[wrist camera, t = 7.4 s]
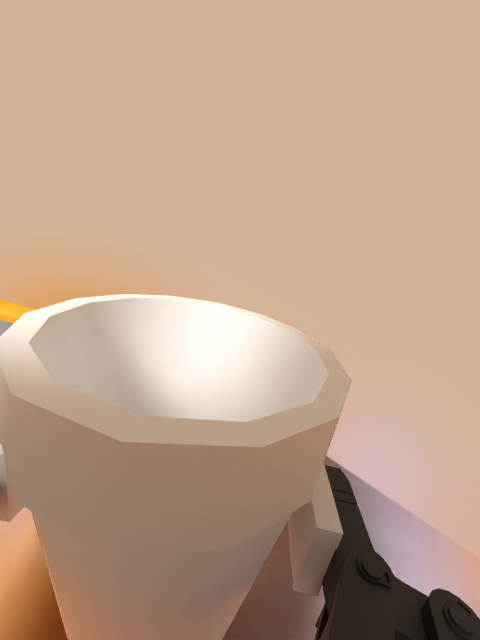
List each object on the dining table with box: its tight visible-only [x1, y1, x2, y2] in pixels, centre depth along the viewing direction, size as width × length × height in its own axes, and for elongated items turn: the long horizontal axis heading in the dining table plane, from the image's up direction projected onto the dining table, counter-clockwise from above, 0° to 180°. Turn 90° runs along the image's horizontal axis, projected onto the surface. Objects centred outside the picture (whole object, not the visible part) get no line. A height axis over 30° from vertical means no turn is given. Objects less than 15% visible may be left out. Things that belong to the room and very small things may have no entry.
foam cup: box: [0, 294, 351, 640], centre depth 10 cm, size 10×9×13 cm
